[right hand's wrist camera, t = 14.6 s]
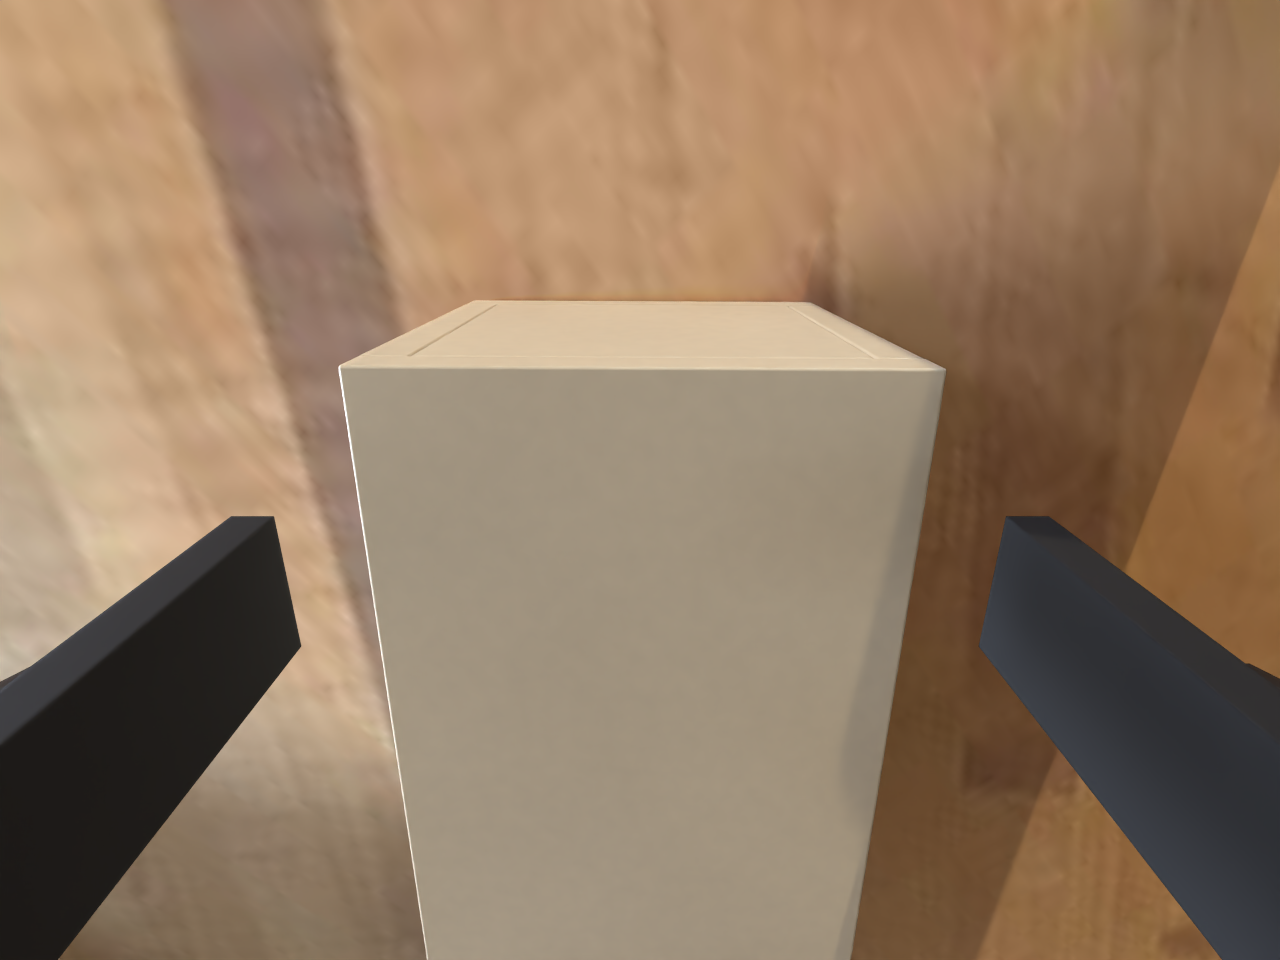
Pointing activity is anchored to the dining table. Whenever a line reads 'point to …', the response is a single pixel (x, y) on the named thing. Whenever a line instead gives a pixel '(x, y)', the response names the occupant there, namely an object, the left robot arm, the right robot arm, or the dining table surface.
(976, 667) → the dining table surface
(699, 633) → the cabinet
